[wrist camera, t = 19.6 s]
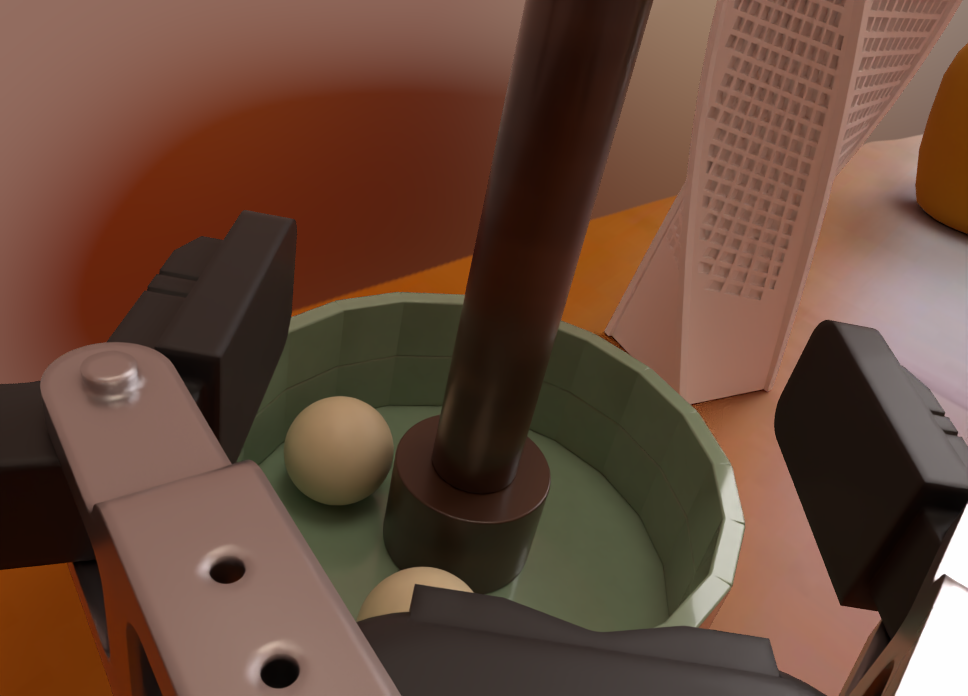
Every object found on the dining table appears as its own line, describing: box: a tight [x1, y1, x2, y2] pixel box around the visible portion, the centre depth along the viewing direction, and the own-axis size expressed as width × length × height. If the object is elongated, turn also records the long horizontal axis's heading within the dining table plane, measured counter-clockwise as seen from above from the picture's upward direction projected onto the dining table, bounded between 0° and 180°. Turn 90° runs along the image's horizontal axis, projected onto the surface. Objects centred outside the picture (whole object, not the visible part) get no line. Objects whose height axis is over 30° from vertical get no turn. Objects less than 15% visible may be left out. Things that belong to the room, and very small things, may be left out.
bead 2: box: [356, 567, 474, 622], centre depth 20 cm, size 3×3×3 cm
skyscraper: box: [604, 0, 962, 404], centre depth 28 cm, size 8×7×28 cm
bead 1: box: [284, 396, 394, 505], centre depth 24 cm, size 3×3×3 cm
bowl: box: [236, 292, 745, 632], centre depth 23 cm, size 14×14×5 cm
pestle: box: [383, 0, 653, 594], centre depth 20 cm, size 4×4×18 cm
